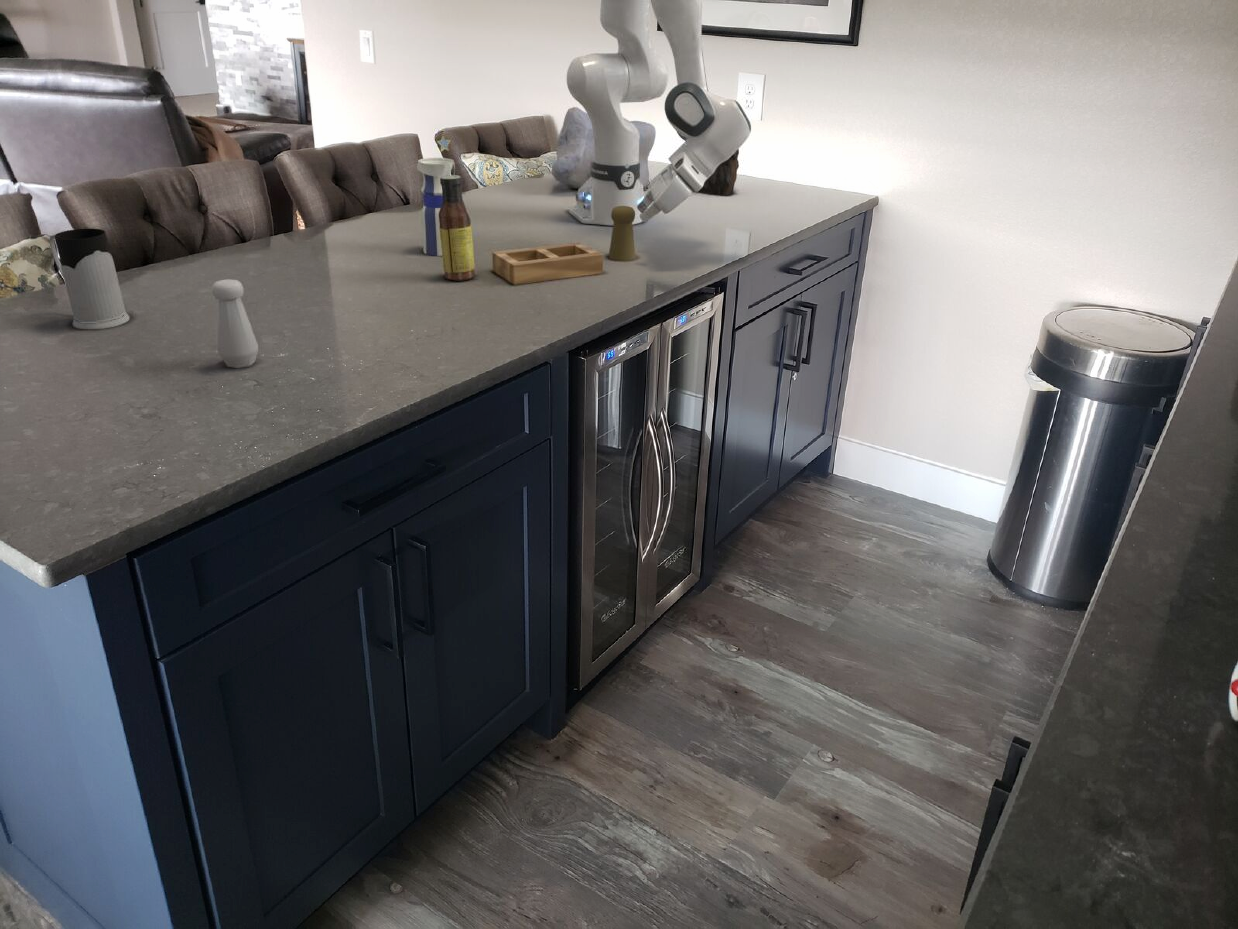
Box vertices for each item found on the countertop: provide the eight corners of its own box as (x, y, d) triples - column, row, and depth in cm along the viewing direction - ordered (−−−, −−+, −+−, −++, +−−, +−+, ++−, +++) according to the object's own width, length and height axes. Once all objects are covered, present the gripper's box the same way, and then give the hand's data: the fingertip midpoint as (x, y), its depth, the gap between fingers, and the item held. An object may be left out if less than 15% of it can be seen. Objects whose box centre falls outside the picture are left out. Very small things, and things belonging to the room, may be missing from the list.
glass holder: (91, 332, 154) (69, 243, 147) (44, 316, 161) (20, 230, 154) (140, 319, 161) (120, 232, 154) (92, 304, 167) (71, 220, 161)
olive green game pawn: (633, 261, 202) (634, 210, 196) (605, 259, 203) (606, 208, 197) (638, 254, 207) (639, 204, 202) (611, 252, 208) (612, 202, 203)
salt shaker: (227, 356, 146) (212, 275, 140) (264, 356, 147) (251, 275, 141) (216, 370, 141) (200, 286, 135) (254, 369, 142) (240, 286, 136)
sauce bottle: (480, 275, 190) (475, 175, 180) (466, 283, 184) (460, 180, 175) (451, 271, 191) (445, 172, 182) (436, 279, 186) (429, 177, 177)
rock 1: (547, 210, 266) (547, 155, 283) (650, 220, 271) (644, 165, 287) (556, 140, 248) (555, 86, 265) (665, 153, 253) (658, 98, 270)
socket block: (492, 271, 193) (492, 251, 191) (578, 260, 201) (578, 242, 200) (514, 285, 184) (513, 265, 182) (602, 273, 193) (603, 254, 191)
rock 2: (718, 185, 280) (723, 115, 270) (751, 192, 272) (757, 120, 262) (690, 190, 272) (694, 118, 262) (723, 198, 264) (728, 123, 255)
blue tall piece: (468, 249, 208) (462, 131, 196) (446, 257, 201) (439, 136, 189) (438, 244, 211) (430, 128, 199) (415, 252, 204) (406, 133, 192)
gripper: (672, 149, 205) (627, 194, 209) (683, 165, 186) (633, 214, 190) (691, 170, 207) (646, 214, 211) (703, 188, 189) (654, 236, 193)
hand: (640, 214), depth 201 cm, fingers open, 8 cm apart
